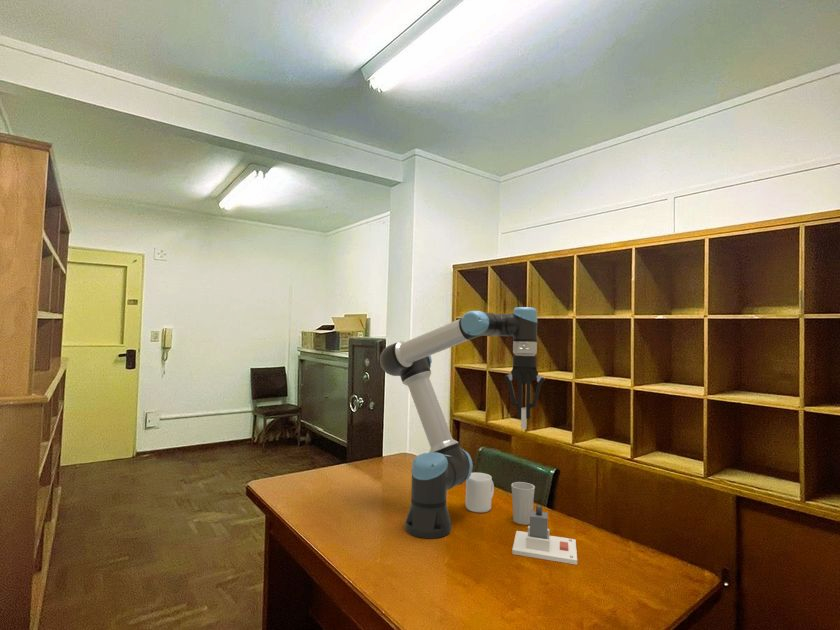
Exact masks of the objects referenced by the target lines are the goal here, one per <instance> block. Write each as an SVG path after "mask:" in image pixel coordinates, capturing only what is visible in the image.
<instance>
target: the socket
mask: <svg viewBox="0 0 840 630" xmlns="http://www.w3.org/2000/svg"><path fill="white" fill-rule="evenodd" d="M511 549H512V551H511V553H512V555H515V556H516V555H517V556H523V557H528V558H534V559H541V560H546V561H552V562H560V563H564V564H571V565H577V566H578V551H577V542H576V538H575V539H574V538H567V537H562V536H555V535H550V528H548V531H547V539H542V538H536V537H530V525H528V526H527V531H521V530H516V532H515V536H514V541H513V545H512V548H511Z"/></svg>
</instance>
